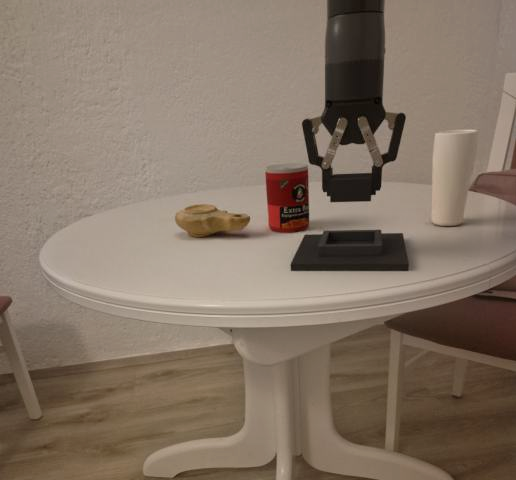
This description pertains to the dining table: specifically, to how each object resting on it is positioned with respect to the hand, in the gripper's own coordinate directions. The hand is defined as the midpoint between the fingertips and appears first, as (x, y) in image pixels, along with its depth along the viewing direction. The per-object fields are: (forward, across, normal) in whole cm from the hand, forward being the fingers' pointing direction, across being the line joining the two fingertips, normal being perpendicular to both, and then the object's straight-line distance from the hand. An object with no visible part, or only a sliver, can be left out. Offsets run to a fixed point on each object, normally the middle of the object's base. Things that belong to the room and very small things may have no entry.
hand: (351, 194), depth 69 cm
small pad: (0, 0, 0) cm, 0 cm away
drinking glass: (+9, +16, +18) cm, 26 cm away
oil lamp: (+9, -26, +13) cm, 30 cm away
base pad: (+9, 0, 0) cm, 9 cm away
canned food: (+9, -12, +17) cm, 23 cm away
